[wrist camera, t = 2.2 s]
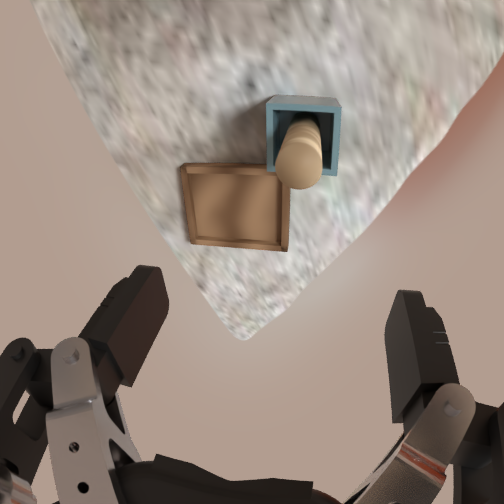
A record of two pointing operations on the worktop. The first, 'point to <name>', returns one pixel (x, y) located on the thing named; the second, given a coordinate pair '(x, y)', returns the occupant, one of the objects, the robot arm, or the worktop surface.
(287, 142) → the dowel
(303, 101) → the blue open box
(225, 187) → the tray
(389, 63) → the worktop surface
